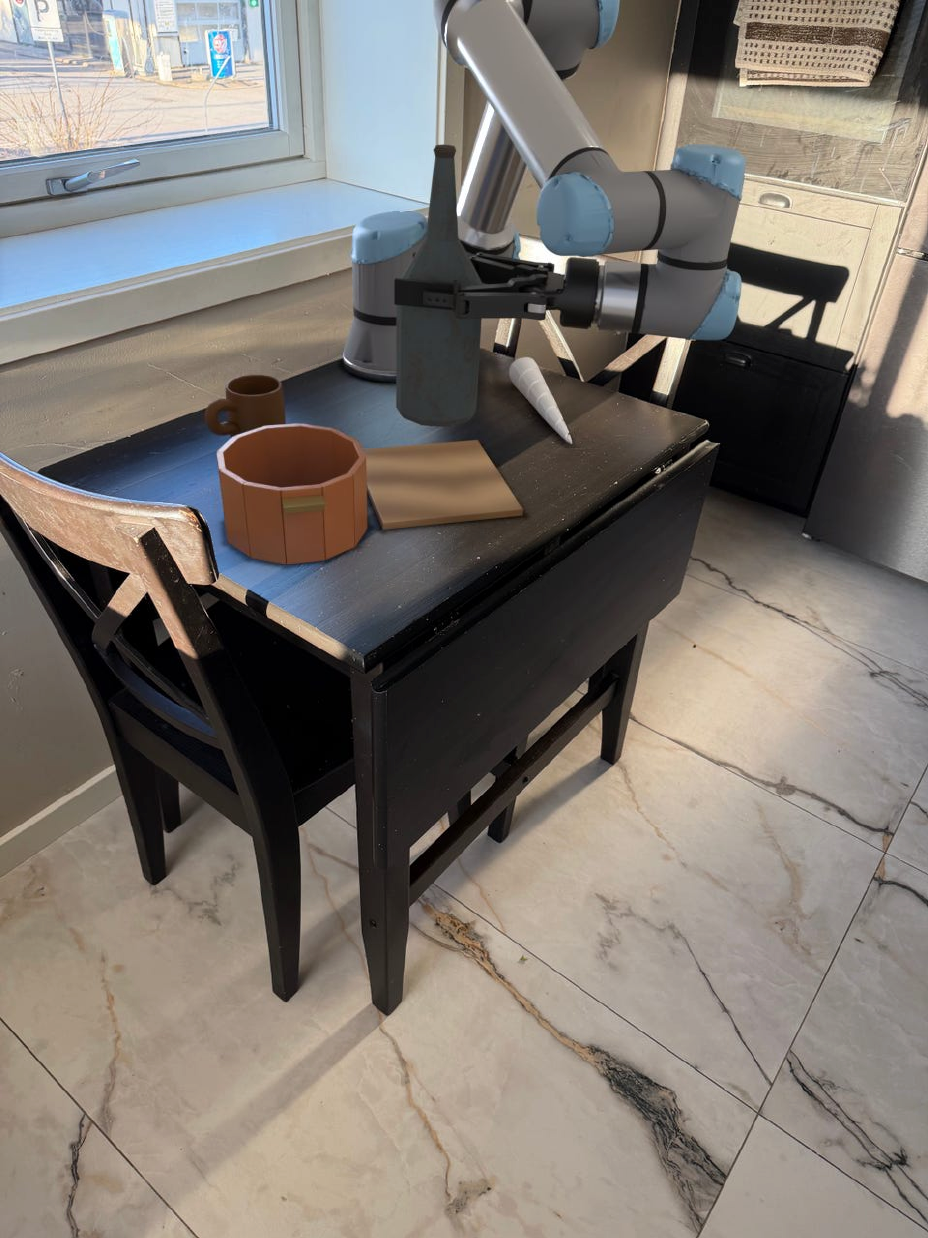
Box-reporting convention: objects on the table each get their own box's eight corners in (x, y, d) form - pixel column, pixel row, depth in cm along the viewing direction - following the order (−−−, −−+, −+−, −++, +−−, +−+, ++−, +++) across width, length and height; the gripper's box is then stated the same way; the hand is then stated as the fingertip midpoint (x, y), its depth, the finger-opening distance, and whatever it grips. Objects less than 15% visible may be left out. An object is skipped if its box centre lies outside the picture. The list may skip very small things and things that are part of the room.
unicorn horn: (546, 448, 130) (549, 417, 128) (506, 384, 149) (509, 355, 146) (577, 446, 131) (582, 415, 128) (534, 383, 150) (537, 354, 147)
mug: (231, 478, 119) (223, 411, 113) (194, 460, 122) (184, 394, 117) (299, 449, 126) (295, 384, 121) (262, 432, 130) (256, 369, 124)
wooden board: (352, 456, 125) (352, 449, 125) (477, 446, 130) (477, 439, 129) (382, 530, 110) (382, 523, 110) (522, 515, 115) (523, 508, 114)
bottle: (451, 390, 119) (461, 135, 102) (492, 418, 113) (511, 150, 95) (381, 404, 115) (380, 139, 97) (420, 434, 108) (426, 156, 90)
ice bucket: (220, 491, 116) (211, 422, 110) (349, 480, 120) (347, 412, 114) (233, 580, 100) (223, 505, 94) (381, 564, 104) (380, 491, 99)
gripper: (590, 362, 96) (383, 342, 98) (595, 298, 114) (421, 282, 116) (599, 290, 92) (383, 270, 93) (603, 235, 110) (422, 220, 112)
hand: (404, 277), depth 105 cm, fingers closed on bottle, 10 cm apart
